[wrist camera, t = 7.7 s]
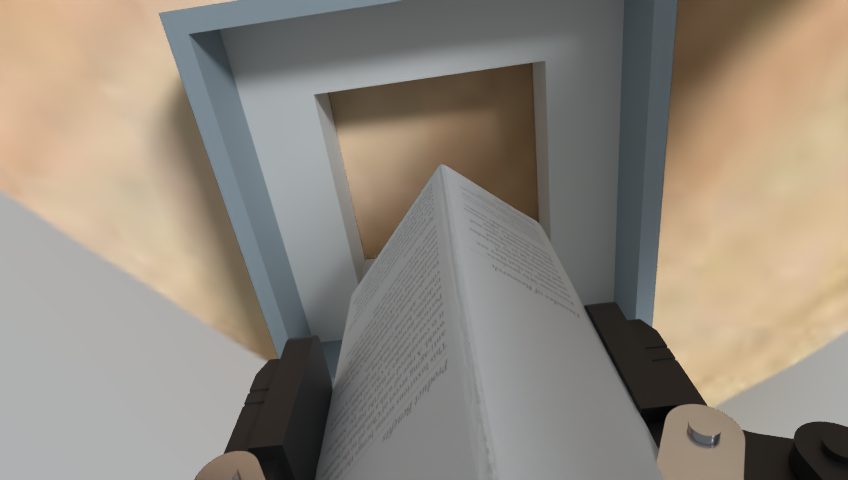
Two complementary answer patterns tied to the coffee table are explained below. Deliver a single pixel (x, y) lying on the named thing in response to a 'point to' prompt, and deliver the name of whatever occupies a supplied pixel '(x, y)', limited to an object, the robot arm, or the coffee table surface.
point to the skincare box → (476, 358)
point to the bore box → (410, 60)
